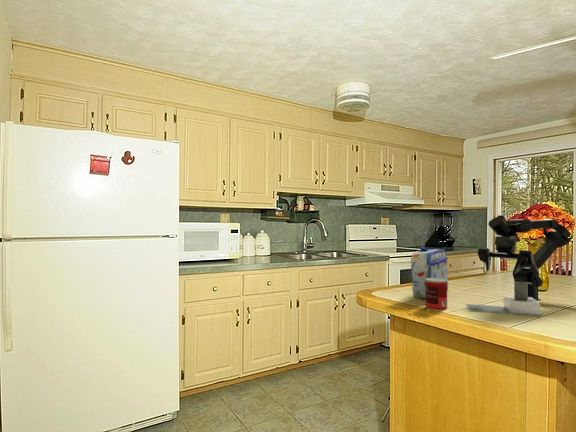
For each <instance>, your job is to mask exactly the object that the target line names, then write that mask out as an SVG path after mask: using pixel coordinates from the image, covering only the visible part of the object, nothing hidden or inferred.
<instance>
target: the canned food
mask: <svg viewBox="0 0 576 432" xmlns="http://www.w3.org/2000/svg"><path fill="white" fill-rule="evenodd" d="M425 296H426V299H425V307H426V308H425V309H430V310H440V311H441V310H442V311H444V310H446V309H448V291H447V280H446V279H441V278H426V280H425Z"/></svg>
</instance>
